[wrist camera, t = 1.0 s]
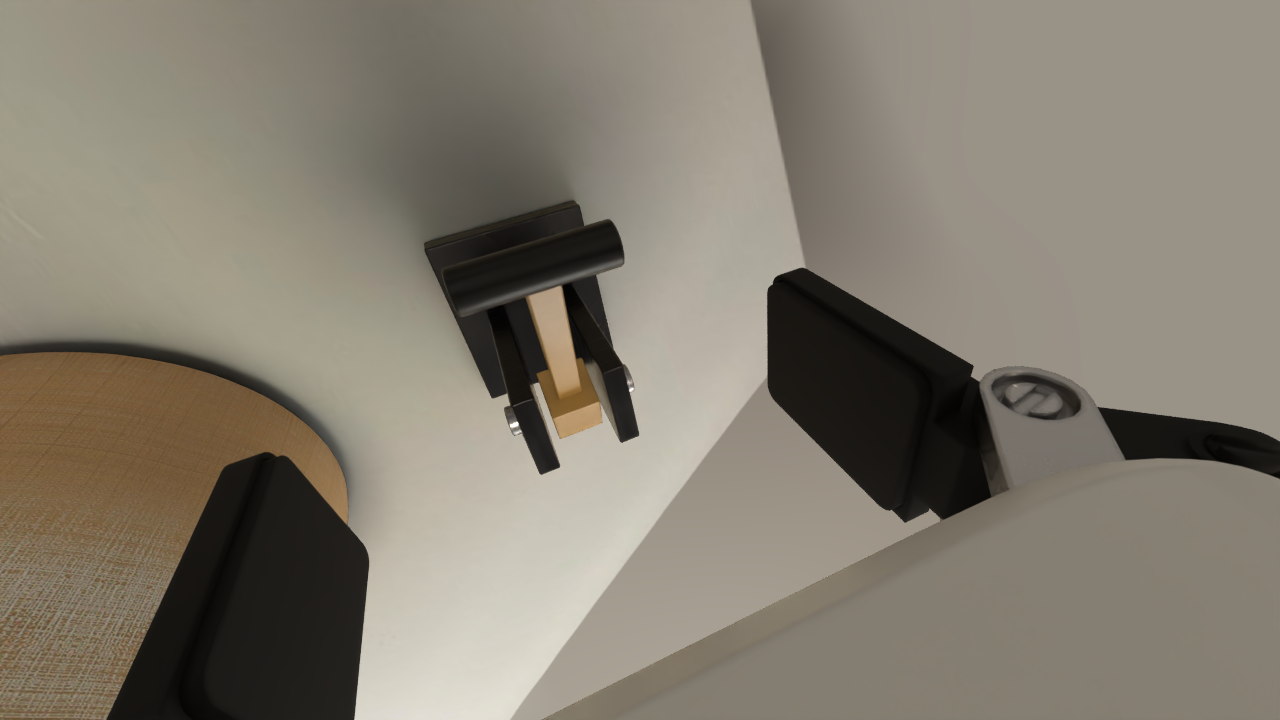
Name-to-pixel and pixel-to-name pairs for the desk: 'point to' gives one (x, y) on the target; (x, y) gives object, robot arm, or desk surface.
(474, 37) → the desk surface
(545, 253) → the switch lever
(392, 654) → the desk surface
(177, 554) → the planter
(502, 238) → the switch bracket
